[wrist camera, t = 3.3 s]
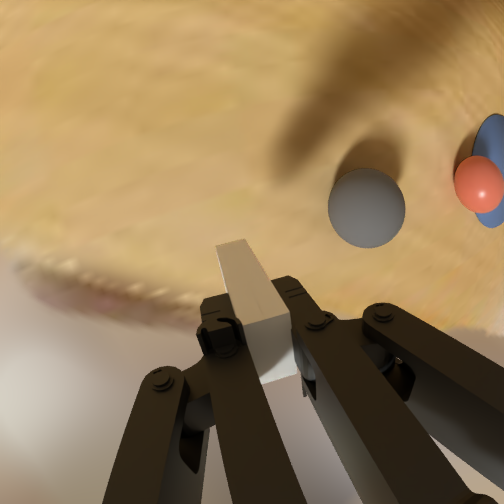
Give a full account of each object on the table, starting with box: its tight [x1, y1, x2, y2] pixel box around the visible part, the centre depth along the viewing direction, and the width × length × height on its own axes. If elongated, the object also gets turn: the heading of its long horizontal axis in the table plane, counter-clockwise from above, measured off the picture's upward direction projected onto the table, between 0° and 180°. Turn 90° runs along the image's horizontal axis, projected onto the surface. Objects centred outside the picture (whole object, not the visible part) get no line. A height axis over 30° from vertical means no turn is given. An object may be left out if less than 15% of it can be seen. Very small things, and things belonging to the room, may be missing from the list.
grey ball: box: [328, 168, 405, 248], centre depth 19 cm, size 6×6×6 cm
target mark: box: [472, 115, 504, 228], centre depth 24 cm, size 14×14×1 cm
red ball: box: [454, 156, 504, 213], centre depth 21 cm, size 6×6×6 cm
